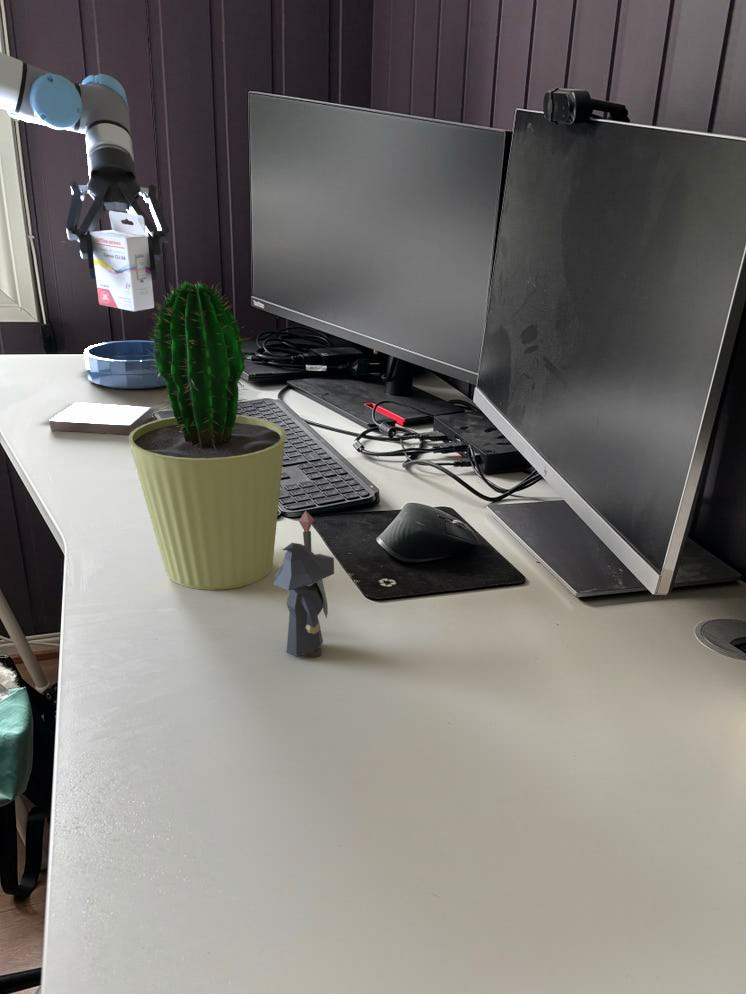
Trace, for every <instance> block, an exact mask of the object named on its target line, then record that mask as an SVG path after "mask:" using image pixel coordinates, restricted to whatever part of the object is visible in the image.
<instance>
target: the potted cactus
mask: <svg viewBox="0 0 746 994" xmlns="http://www.w3.org/2000/svg"><path fill="white" fill-rule="evenodd" d="M180 281H181V283H179V281H178V280H176V283H177V284H178V288H175V289H174V287H173V286H172V284H171V283H170V282H168V286H169V289H170V291H171V292H169V293H170V294H169V293H168V292H167V290H166V289H165V294H164V293H162V296H163V297H164V301H163V305H162V304H161V303H160V302H158V301H157V300H156V299H154V300H153V301H154V305H156V306H155V309H157V310H158V313H156V312H153V311H152V316H151V315H149V314H150V312H148V311H147V316H149V317H150V318H152V320H156V321H157V322H156V323H155V325H154V326H150V325H149V330H152V328H153V327H154V328H153V332H154V333H152V332H149V334H148V331H147V332H145V333H147V334H148V335H147V338H148V339H149V340H150V341H154V343H155V344H154V346H153V347H154V349H152V350H155V351H154V352H155V353H152V355H154V359H155V360H154V361H156V367H155V365H150V366H154V367H155V368H157V370H158V369H159V370H158V371H159V373H160V374H158V375H157V376H158V377H159V376H160V375H161V376H163V377H164V378H165V380H166V385H162V387H163V388H165V389H163V390H162V391H161V392H159V394H162V393H164V394H165V396H166V395H167V396H168V401H169V402H167V399H165V400H163V401H161V402H160V404H161V403H165V402H166V403H167V404H164V407H165V408H162V409H161V411H162V410H166V409H168V410H171V411H169V412H166V413H163V415H167V414H170V413H172V415H173V416H170V417H169V416H168V417H164V418H160V419H156V420H152V421H149V422H146V423H144V424H143V425H142V426H140V427H138V428H136V429H135V430H133V431H132V432H131V433H130V435H128V442H129V444H130V450H131V454H132V458H133V462H134V464H135V465H134V466H135V469H136V472H137V475H138V480H139V482H140V485H141V489H142V490H141V491H142V493H143V496H144V501H145V504H146V507H147V512H148V515H149V518H150V522H151V525H152V528H153V532H154V536H155V539H156V542H157V546H158V550H159V553H160V557H161V560H162V564H163V568H164V571H165V573H166V576H167V577H168V578H169V579H170V580H171V581H173V582H174V583H175V584H178V585H180V586H183V587H187V588H191V589H197V590H208V591H212V590H213V591H217V590H218V591H219V590H230V589H237V588H241V587H245V586H248V585H251V584H255V583H256V582H259V581H260V580H262V579H264V578H265V577H267V576H268V575H269V574H270V573H271V571H272V568H273V564H274V555H275V544H276V536H277V535H276V534H277V533H276V532H277V526H278V525H277V523H278V513H279V503H280V495H281V481H282V472H283V464H284V463H283V462H284V453H285V441H286V439H287V432H286V431H285V429H284V428H283V427H282V426H281V425H279V424H278V423H275V422H272V421H270V420H267V419H263V418H258V417H255V416H249V415H243V414H242V412H240V411H238V408H239V407H238V406H239V405H238V404H244V405H246V402H245V401H246V398H241V399H239V396H240V395H242V396H243V394H241V393H240V391H242V390H243V391H249V389H247V388H245V385H244V384H242V383H244V382H243V381H242V379H244V377H245V379H247V377H249V378H250V376H248V375H246V374H245V373H243V372H244V371H246V372H248V369H247V370H246V367H248V366H249V367H250V364H249V363H248V362H247V361H246V359H247V357H246V356H249V355H250V353H248V354H245V353H247V352H249V350H242V349H245V348H247V346H245V344H243V342H245V341H248V340H250V339H253V338H254V336H253V337H250V338H249V337H248V336H247V337H243V335H241V336H240V334H241V331H240V325H238V323H239V322H238V320H240V318H241V317H240V318H238V319H236V318H235V317H234V316H233V313H231V311H230V309H231V307H233V306H235V305H236V304H237V303H238V301H237V302H236V303H235V302H234V303H233V304H229V305H228V306H227V304H228V301H225V300H227V299H228V298H230V296H228V297H223V296H222V297H220V295H221V294H220V293H221V291H222V288H220V289H219V286H220V282H221V279H220V280H219V282H218V283H217V284H216V282H213V284H212V286H211V287H210V286H208V285H207V284H206V283H207V282H205V283H203V282H202V281H203V280H202V279H200V281H199V282H197V283H196V282H195V281H194V280H192V282H190V281H188V280H184V283H183V280H180ZM215 284H216V286H215ZM214 286H215V288H214V289H213V287H214ZM217 294H218V295H217ZM226 295H227V293H225V294H224V296H226ZM148 313H149V314H148ZM247 326H248V325H244V326H242V327H241V329H242V328H245V327H247ZM151 335H152V336H151ZM242 337H243V338H242ZM149 344H150V343H149ZM151 348H152V347H151ZM146 350H147V349H146ZM149 352H150V351H149ZM253 352H254V351H253ZM253 352H251V354H252V353H253ZM148 354H149V353H148ZM150 355H151V354H150ZM152 358H153V357H152ZM148 359H150V358H148ZM144 360H146V359H144ZM152 360H153V359H152ZM153 363H155V362H153ZM245 364H246V365H245ZM151 368H152V367H151ZM146 369H150V368H146ZM158 371H157V372H158ZM157 372H156V373H157ZM156 373H155V374H156ZM155 374H154V375H155ZM154 375H153V376H154ZM155 380H156V379H155ZM239 386H240V391H239ZM166 391H167V392H166Z"/></svg>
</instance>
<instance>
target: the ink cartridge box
mask: <svg viewBox="0 0 746 994" xmlns="http://www.w3.org/2000/svg"><path fill="white" fill-rule="evenodd" d="M108 216H109V222H110V227H111V229H108V230H107V229H106V230H96V231H95V230H94V231H93V232H90V233H91V240H92V248H93V256H94V266H95V277H96V279H95V281H96V288H97V296H98V304H99V305H100V306H105V307H111V308H115V309H120V310H124V311H129V312H138V311H145V310H150V309H154V308H155V302H154V301H155V298H154V290H153V289H154V288H153V280H152V277H151V268H150V258H149V248H148V238H147V235H146V229H145V222H144V218H143V216H141V215H134V214H129V213H128V212H123V211H115V210H113V211H108ZM126 220H127V221H129V222H132V223H133V224H126V223H123V222H122V221H126ZM153 300H154V301H153Z"/></svg>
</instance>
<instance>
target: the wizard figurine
mask: <svg viewBox="0 0 746 994" xmlns="http://www.w3.org/2000/svg"><path fill="white" fill-rule="evenodd" d="M314 520H315V518H313V516H312V515H311V514H310V513H309V512H308V511H307V510H304V512H303V514H301V517H300V518H299V520H298V522H299V524H300V526H301V527H302V529H303V532H302V536H303V544H301V543H298V542H297V543H296V542H291V543H289V544H288V545H287V546H285V547H284V548H282V551H286V552H285V553H284V557H283V562H282V564H281V566H280V567H279V568H278V569H277V570H276V572H275V574H274V575H275V576H274V580H273V585H274V586H276V587H279V588H281V589H284V590H286V591H289V592H288V596H287V599H286V606H287V607H286V608H287V609H288V612H289V614H288V615H289V616H288V629H287V641H286V643H287V644H286V653H288V654H290V655H292V656H295V657H300V656H303V657H304V658H316V657H321V656H322V651H323V648H322V645H323V642H324V640H323V634H322V630H321V625H320V619H319V615H320V614H321V612H322V610H323V614H324V616H325V619H327V617H328V613H329V612H328V611H329V610H328V607H329V605H328V599H327V595H326V589H325V585H324V579H326V578H328V577H330V576H333V575H334V574H335V557H333V556H329V555H326V554H321V553H316V554H315V553H314V552H313V551H312V530H310V529H311V527H312V526H313V523H314Z"/></svg>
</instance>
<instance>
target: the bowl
mask: <svg viewBox="0 0 746 994" xmlns="http://www.w3.org/2000/svg"><path fill="white" fill-rule="evenodd" d="M149 343H150V344H149ZM154 344H155V343H154V340H118V341H117V340H116V341H108V342H102V343H98V344H94V345H90V346H88V347H87V348H85V349H84V352H83V355H84V361H85V369H86V375H87V376H86V377H87V380H89V381H90V382H91V383H93V384H96V385H99V386H104V387H108V388H111V389H119V390H120V389H123V390H146V389H156V388H162V387H163V386H162V385H166V380H165V378H164V377H163V376H161V375H160V376H159V377H158V376H157V375H158V374H160V373H159V371H158V370H159V369H158V370H157V368H155V367H156V361H154V360H155V359H154V355H152V353H155V352H154V351H155V350H152V349H154V347H153V346H154ZM151 347H152V348H151ZM146 349H147V350H146ZM149 351H150V352H149ZM148 353H149V354H148ZM150 354H151V355H150ZM152 357H153V358H152ZM148 358H150V359H148ZM144 359H146V360H144ZM152 359H153V360H152ZM153 362H155V363H153ZM150 365H155V367H154V366H150ZM151 367H152V368H151ZM146 368H150V369H146ZM157 371H158V372H157ZM156 372H157V373H156ZM155 373H156V374H155ZM154 374H155V375H154ZM153 375H154V376H153ZM155 379H156V380H155Z"/></svg>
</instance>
